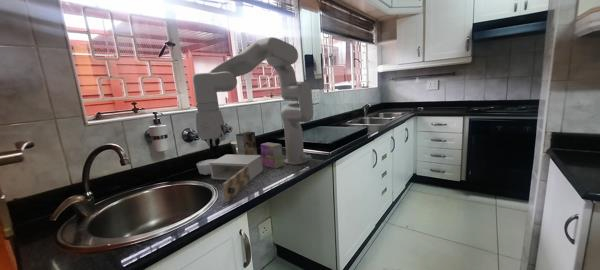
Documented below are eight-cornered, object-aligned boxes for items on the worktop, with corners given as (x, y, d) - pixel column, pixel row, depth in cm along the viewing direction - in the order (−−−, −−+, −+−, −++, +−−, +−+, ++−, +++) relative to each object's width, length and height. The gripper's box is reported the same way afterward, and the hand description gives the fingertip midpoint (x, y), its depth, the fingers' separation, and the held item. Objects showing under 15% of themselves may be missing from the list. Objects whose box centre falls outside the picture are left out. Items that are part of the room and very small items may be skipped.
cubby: (262, 170, 127) (261, 155, 126) (249, 181, 114) (247, 164, 113) (228, 169, 133) (226, 154, 132) (211, 178, 120) (209, 162, 119)
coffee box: (250, 157, 153) (247, 131, 150) (258, 158, 149) (255, 131, 146) (238, 161, 146) (235, 134, 142) (246, 163, 142) (242, 135, 139)
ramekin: (201, 169, 136) (200, 159, 135) (222, 167, 137) (221, 158, 136) (194, 176, 125) (193, 166, 124) (217, 174, 126) (216, 164, 125)
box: (262, 165, 136) (260, 144, 133) (270, 162, 140) (268, 141, 137) (275, 169, 129) (273, 146, 126) (283, 165, 133) (281, 144, 130)
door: (247, 180, 113) (245, 165, 112) (253, 181, 113) (251, 166, 111) (225, 201, 94) (222, 183, 93) (232, 201, 94) (229, 183, 92)
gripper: (184, 109, 93) (193, 157, 97) (217, 108, 87) (225, 159, 91) (199, 106, 99) (207, 151, 103) (231, 105, 94) (237, 153, 98)
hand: (215, 155), depth 97 cm, fingers closed
